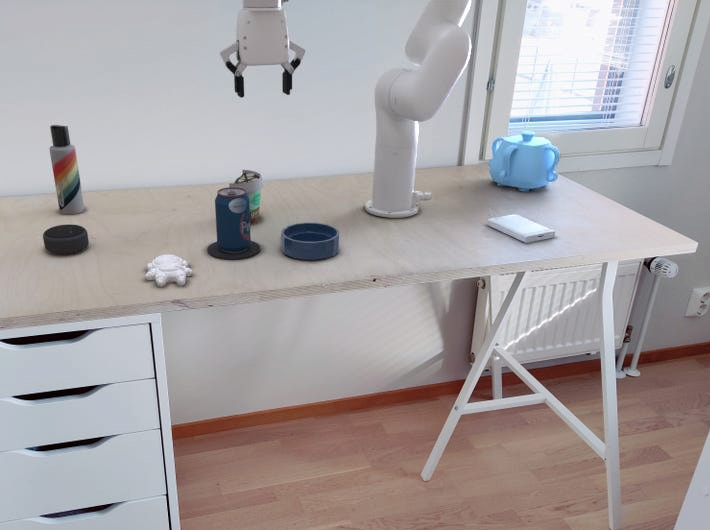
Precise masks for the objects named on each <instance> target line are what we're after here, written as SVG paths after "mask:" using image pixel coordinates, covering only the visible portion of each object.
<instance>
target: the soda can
mask: <svg viewBox="0 0 710 530" xmlns="http://www.w3.org/2000/svg"><path fill="white" fill-rule="evenodd" d="M216 193H217V195H216V196H215V198H214V208H215V227H216V228H215V229H216V230H215V231H216V242H217V244H218V246H219V247H220V249H221V250H222V251H224V252H227V253H240V252H243V251H245V250H247V248H248V247H249V245H250V243H251V241H252V240H251V239H252V237H251V225H250V202H249V198H248V196H247V194H246V190H245V189H243V188H238V187H229V186H228V187H223V188H220V189H218V190H217V192H216Z"/></svg>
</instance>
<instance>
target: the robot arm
mask: <svg viewBox="0 0 710 530" xmlns="http://www.w3.org/2000/svg"><path fill="white" fill-rule="evenodd" d="M289 1H290V0H242V8H239V9H238V11H237V18H236V29H235V42H234V43H232V44H231V45H228V46H227V47H225V48H224V49H223V50H221V51H220V52H219V56H220V58H221V60H222V62H223V64H224V66H225V67H226V68H227V69H228V71H230V72H231V74H232V75H233V80H234V81H233V82H234V85H233V86H234V92H235V93H236V94H237V96H238V97H239V98H245V78H244V77H245V76H243V73H244V71H245V70H246V68H247V67H248V66H249V67H253V66H255V67H256V66H275V65H277V66H278V65H280V66H281V67H282V69H283V72H282V75H281V76H282V77H281V78H282V79H281V80H282V84H281V85H282V87H281V88H282V89H281V90H282V93H283V94H285V95H286V96H290V95H291V91H292V90H293V74H294V73H295V71H296V70H297V68H298V67H299V66H300V65H301V63H302V61H303V58H304V56H305V54H306V50H305V48H303V47H301V46H300V45H298V44H296V43H294V42H292V41H291V40H290V38H289V36H290V35H289V27H288V20H287V13H286V10H285V8H283V6H284V3H288V2H289ZM471 3H472V0H428V1H427V4H426V5H425V7H424V9H423V11H422V13H421V14H420V16H419V18H418V20H417V21H416V23H415V25H414V26H413V28H412V30H411V32H410V34H409V35H408V38H407V39H406V42H405V46H404V54H405V57H406V59H407V60H408V62H409V63H411V64H412V65H414V66H415V67H418V69H417V70H415V69H409V68H406V67H399V66H398V67H391V68H389V69H387V70H385V71H384V72H383V73H382V74H381V75H380V76H379V78H378V80H377V81H376V84H375V87H374V107H375V116H376V117H375V119H376V121H375V122H376V123H375V125H376V126H375V127H376V128H375V129H376V131H375V144H374V145H375V146H374V159H373V160H374V161H373V177H372V178H373V179H372V193H371V194H372V196H371V199H369V200H368V201H366V202H365V204H364V209H365V211H366V212H367V213H369V214H370V215H373V216H377V217H380V218H388V219H389V218H390V219H391V218H392V219H399V218H400V219H401V218H408V217H412V216H414V215H416V214H417V213H418V212H419V205H418V203H420V202H427V201H432V198H433V195H432V192H430V191H427V192H422V190H415V189H414V188H415V176H416V165H417V154H418V145H419V123H421V122H422V123H423V122H427V121H430V120H431V119H432V118H433V117H435V116H436V115H437V114H438V113H439V112H440V110H441V109H442V107H443V106H444V104H445V103H446V101H447V100H448V98H449V97H450V94H451V93H452V91H453V89H454V87H455V86H456V84H457V82H458V81H459V79H460V77H461V76H462V74H463V72H464V70H465V69H466V67H467V65H468V62H469V61H470V56H471V50H472V41H471V37H470V35H469V33H468V31H467V30H466V29H465V28H464V27H462V24H463V22H464V20H465V18H466V16H467V14H468V12H469V11H470V7H471ZM290 50H291V51H293V52H295V55H294V58H293V59H292V60H291V61H289V60H290ZM233 54H235V58H236V61H237V62H236V64H234V63H233V62H232V61H231V59H230V56H231V55H233Z"/></svg>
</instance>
